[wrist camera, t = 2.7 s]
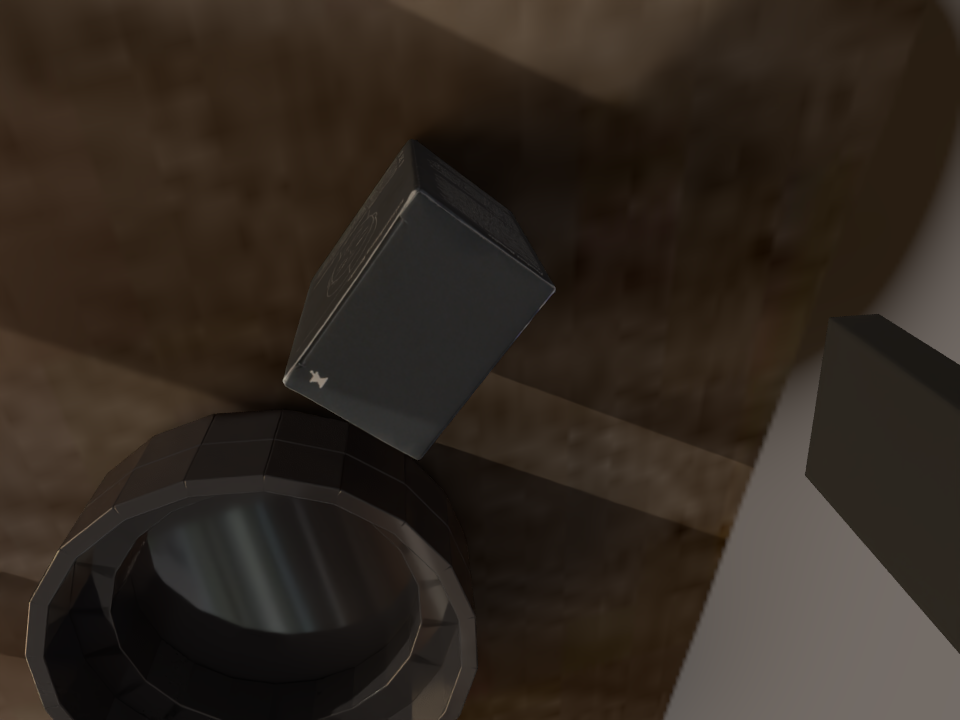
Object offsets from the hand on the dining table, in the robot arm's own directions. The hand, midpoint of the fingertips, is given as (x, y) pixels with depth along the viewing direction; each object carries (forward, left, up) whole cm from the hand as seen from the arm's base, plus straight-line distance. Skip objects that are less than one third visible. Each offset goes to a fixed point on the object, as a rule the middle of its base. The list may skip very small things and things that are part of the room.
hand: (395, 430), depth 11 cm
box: (0, -4, -23) cm, 24 cm away
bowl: (-8, -21, -23) cm, 32 cm away
